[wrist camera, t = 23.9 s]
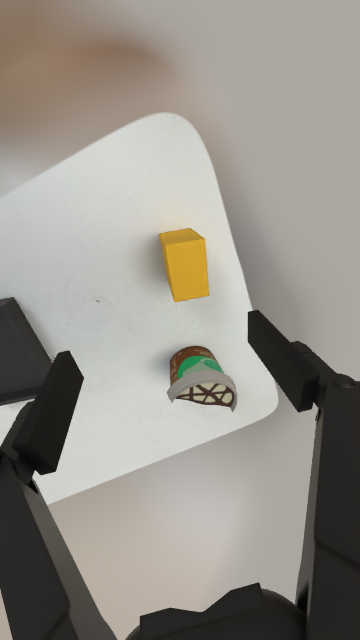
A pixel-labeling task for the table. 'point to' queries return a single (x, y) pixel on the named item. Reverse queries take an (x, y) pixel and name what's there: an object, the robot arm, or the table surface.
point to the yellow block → (185, 264)
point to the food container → (200, 379)
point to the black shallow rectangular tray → (19, 356)
